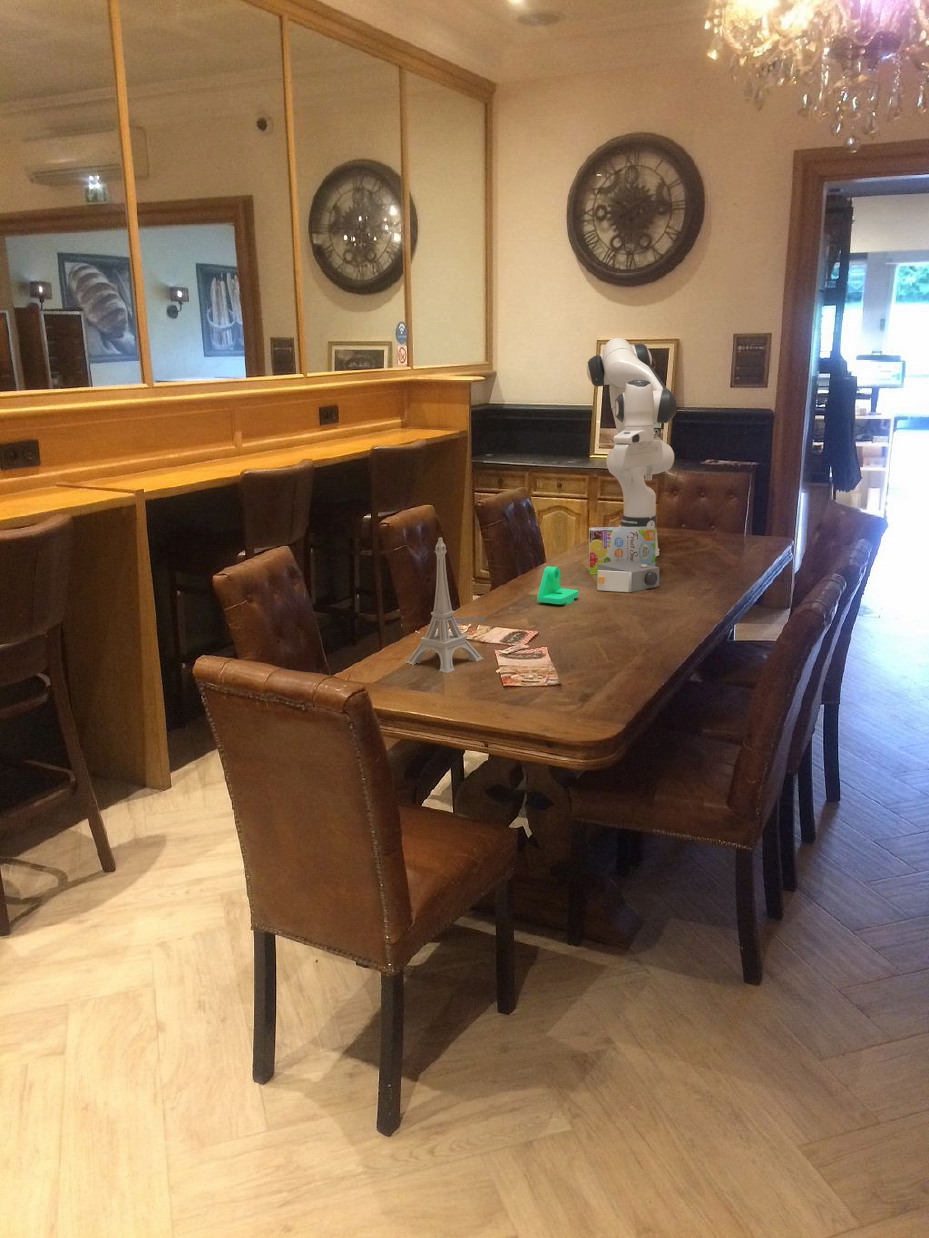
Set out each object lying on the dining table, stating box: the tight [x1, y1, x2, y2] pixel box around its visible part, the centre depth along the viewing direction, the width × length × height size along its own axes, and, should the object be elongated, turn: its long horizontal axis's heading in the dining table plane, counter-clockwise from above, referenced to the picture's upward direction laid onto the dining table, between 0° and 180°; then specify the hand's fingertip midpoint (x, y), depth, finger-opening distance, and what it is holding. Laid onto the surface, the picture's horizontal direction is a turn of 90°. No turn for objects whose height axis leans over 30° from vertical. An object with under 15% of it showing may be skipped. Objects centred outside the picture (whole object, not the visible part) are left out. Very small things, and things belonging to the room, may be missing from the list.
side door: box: [597, 570, 632, 593], centre depth 298 cm, size 10×2×6 cm, turn 68°
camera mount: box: [536, 565, 579, 606], centre depth 288 cm, size 12×8×10 cm, turn 147°
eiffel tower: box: [404, 537, 485, 674], centre depth 233 cm, size 13×13×30 cm
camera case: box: [596, 559, 660, 593], centre depth 306 cm, size 17×11×7 cm, turn 33°
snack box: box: [588, 526, 657, 576], centre depth 321 cm, size 21×6×15 cm, turn 84°
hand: (638, 481), depth 300 cm, fingers open, 8 cm apart
